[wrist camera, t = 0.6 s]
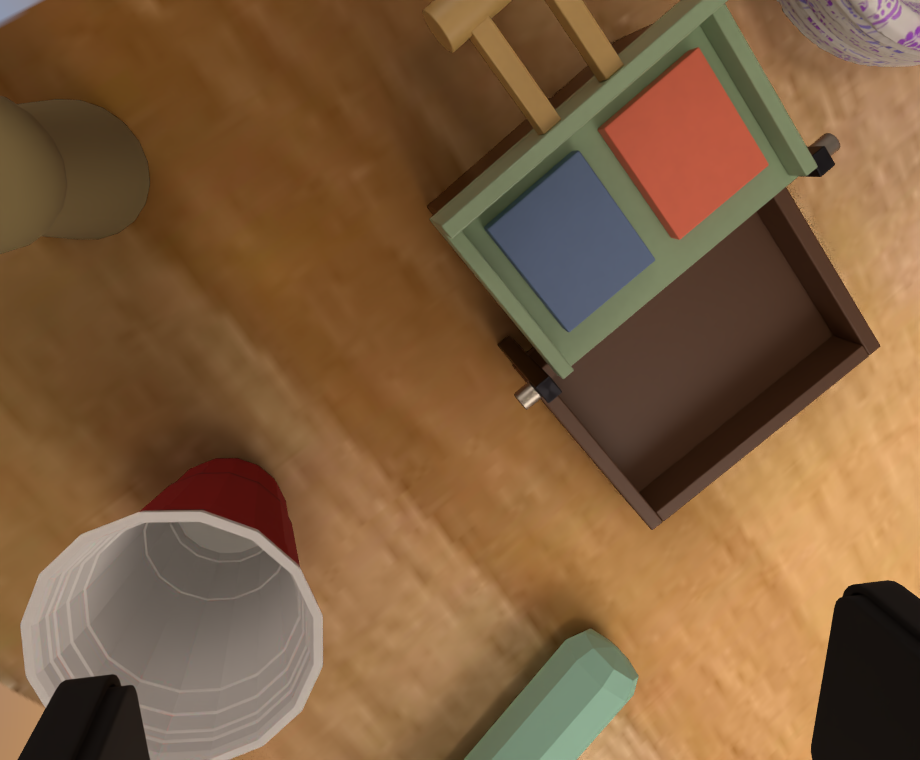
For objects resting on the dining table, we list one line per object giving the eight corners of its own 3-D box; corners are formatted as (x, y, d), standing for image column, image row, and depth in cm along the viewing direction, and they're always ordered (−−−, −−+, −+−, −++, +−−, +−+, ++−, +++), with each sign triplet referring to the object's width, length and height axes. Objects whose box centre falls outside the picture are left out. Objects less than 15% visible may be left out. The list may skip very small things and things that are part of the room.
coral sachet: (688, 49, 27) (698, 45, 26) (758, 165, 28) (770, 164, 28) (596, 129, 27) (603, 128, 26) (671, 238, 29) (680, 240, 28)
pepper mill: (-28, 137, 30) (-225, 121, 20) (97, 74, 30) (-33, 23, 20) (59, 262, 32) (-78, 308, 21) (176, 203, 32) (96, 220, 22)
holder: (742, 170, 36) (777, 170, 33) (843, 333, 40) (881, 346, 37) (511, 364, 37) (525, 381, 34) (630, 505, 41) (652, 531, 38)
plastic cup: (251, 366, 35) (206, 462, 23) (369, 523, 38) (380, 673, 27) (69, 480, 35) (-62, 630, 24) (204, 626, 38) (146, 817, 27)
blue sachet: (572, 149, 27) (579, 149, 26) (648, 257, 29) (657, 260, 28) (482, 227, 27) (486, 229, 27) (563, 329, 29) (569, 333, 28)
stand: (659, 2, 33) (748, -44, 26) (751, 153, 36) (853, 150, 28) (386, 241, 34) (397, 261, 27) (495, 369, 37) (532, 418, 30)
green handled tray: (607, -147, 25) (650, -198, 21) (794, 172, 29) (855, 173, 26) (332, 101, 26) (330, 90, 22) (555, 372, 30) (582, 399, 27)
